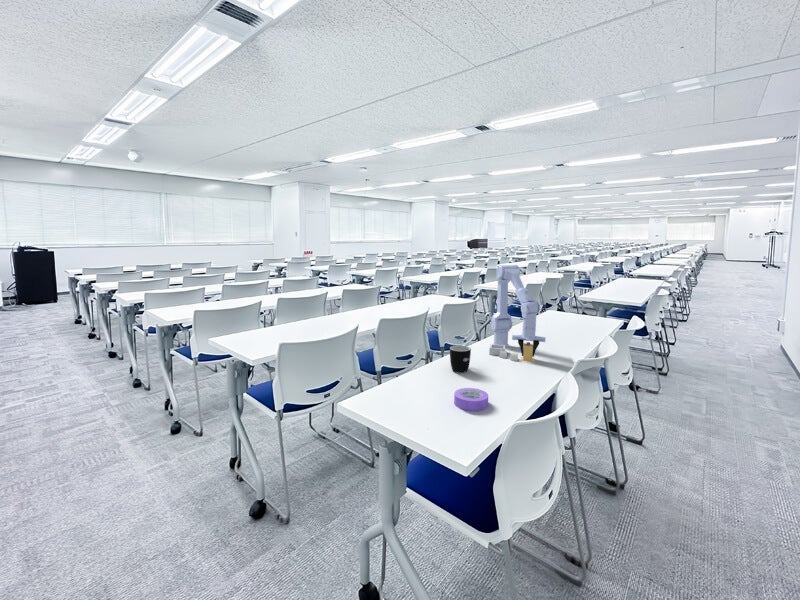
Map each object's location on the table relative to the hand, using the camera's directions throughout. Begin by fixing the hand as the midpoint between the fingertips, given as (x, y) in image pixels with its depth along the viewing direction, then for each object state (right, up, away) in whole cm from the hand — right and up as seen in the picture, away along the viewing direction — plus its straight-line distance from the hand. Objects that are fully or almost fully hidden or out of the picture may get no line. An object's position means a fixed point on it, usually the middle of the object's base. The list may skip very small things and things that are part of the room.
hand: (527, 355), depth 177 cm
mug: (-32, -5, -9) cm, 34 cm away
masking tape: (-35, -11, -44) cm, 57 cm away
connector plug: (0, -2, 0) cm, 2 cm away
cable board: (-6, -2, +5) cm, 8 cm away
